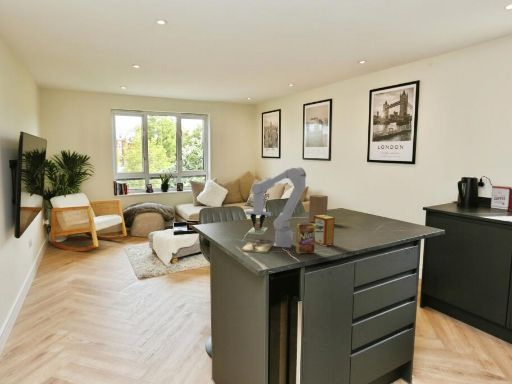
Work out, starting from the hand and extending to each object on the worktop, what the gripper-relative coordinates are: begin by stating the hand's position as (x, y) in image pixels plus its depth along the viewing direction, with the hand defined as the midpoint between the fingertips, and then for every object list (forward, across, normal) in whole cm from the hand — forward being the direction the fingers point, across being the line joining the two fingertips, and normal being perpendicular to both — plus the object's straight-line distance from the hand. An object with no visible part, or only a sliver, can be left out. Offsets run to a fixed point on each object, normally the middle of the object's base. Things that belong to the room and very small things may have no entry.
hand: (257, 227), depth 188 cm
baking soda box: (+8, -37, -6) cm, 38 cm away
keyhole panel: (+2, 0, 0) cm, 2 cm away
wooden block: (+8, -30, -66) cm, 73 cm away
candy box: (+8, -29, +15) cm, 34 cm away
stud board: (+8, -4, +15) cm, 18 cm away
